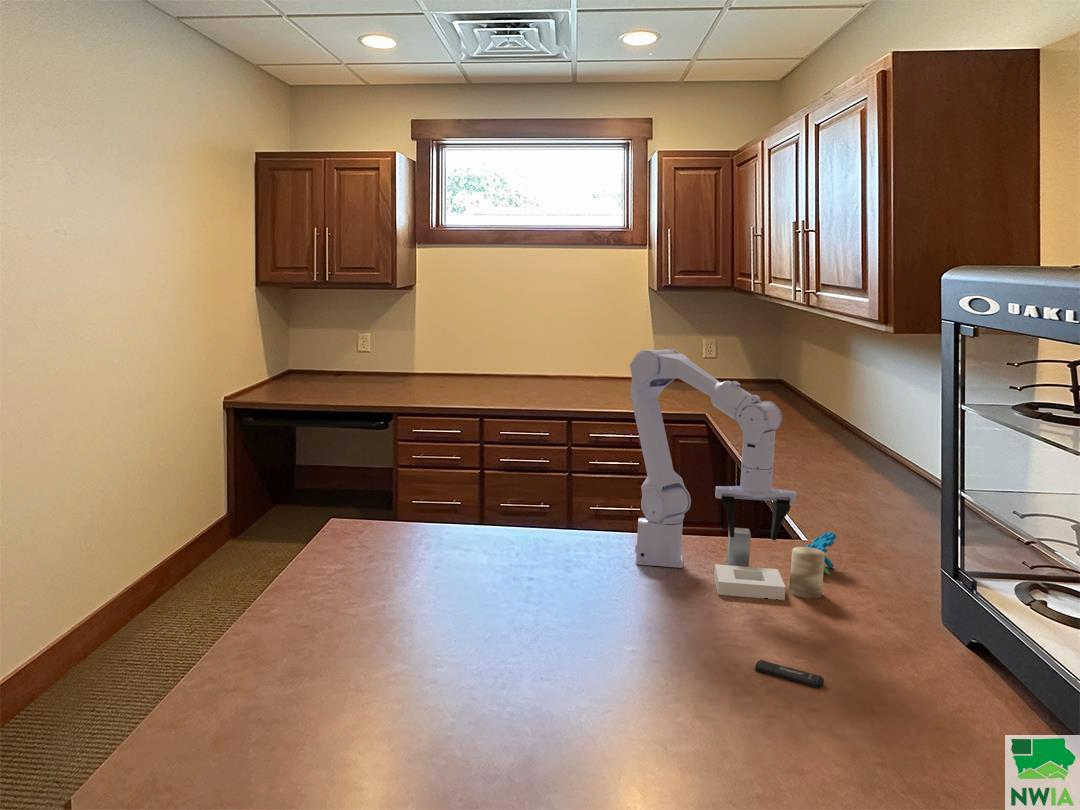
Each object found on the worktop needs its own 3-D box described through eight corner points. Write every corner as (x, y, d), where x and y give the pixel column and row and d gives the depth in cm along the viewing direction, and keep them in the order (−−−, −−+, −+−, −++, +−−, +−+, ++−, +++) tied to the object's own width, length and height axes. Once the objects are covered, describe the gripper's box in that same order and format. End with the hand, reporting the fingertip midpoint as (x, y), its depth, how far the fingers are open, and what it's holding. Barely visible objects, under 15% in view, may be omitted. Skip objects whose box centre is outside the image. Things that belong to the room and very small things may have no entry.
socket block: (717, 594, 145) (718, 581, 145) (714, 576, 155) (714, 564, 154) (784, 600, 143) (785, 587, 143) (776, 581, 153) (777, 569, 153)
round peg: (791, 597, 145) (794, 555, 144) (787, 586, 151) (789, 545, 150) (824, 599, 144) (827, 557, 143) (818, 588, 150) (821, 548, 149)
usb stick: (753, 673, 115) (753, 663, 115) (758, 666, 117) (759, 657, 117) (819, 692, 110) (820, 682, 109) (824, 685, 112) (825, 674, 112)
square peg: (728, 571, 158) (730, 532, 157) (726, 564, 162) (728, 527, 161) (748, 572, 158) (750, 534, 157) (746, 566, 162) (748, 528, 161)
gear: (795, 548, 169) (832, 522, 165) (814, 569, 169) (852, 543, 164) (790, 570, 159) (830, 543, 155) (810, 592, 159) (851, 566, 154)
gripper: (719, 468, 143) (715, 540, 145) (801, 473, 141) (795, 546, 143) (716, 461, 150) (712, 529, 152) (794, 465, 148) (789, 535, 150)
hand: (752, 537), depth 148 cm, fingers open, 7 cm apart
